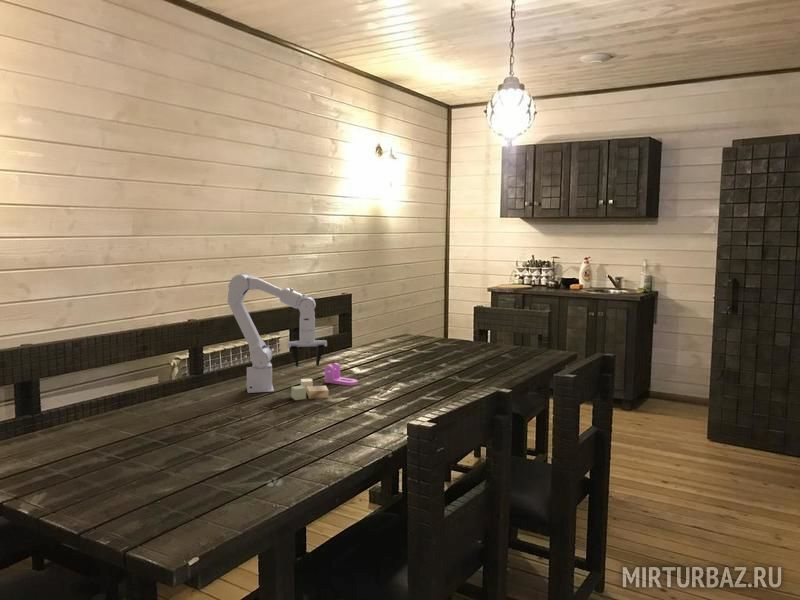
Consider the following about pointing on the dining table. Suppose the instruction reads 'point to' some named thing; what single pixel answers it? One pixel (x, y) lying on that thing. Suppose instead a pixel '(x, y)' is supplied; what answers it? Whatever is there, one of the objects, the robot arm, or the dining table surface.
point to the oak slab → (317, 392)
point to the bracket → (337, 376)
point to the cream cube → (306, 383)
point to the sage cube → (298, 392)
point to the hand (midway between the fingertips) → (307, 365)
